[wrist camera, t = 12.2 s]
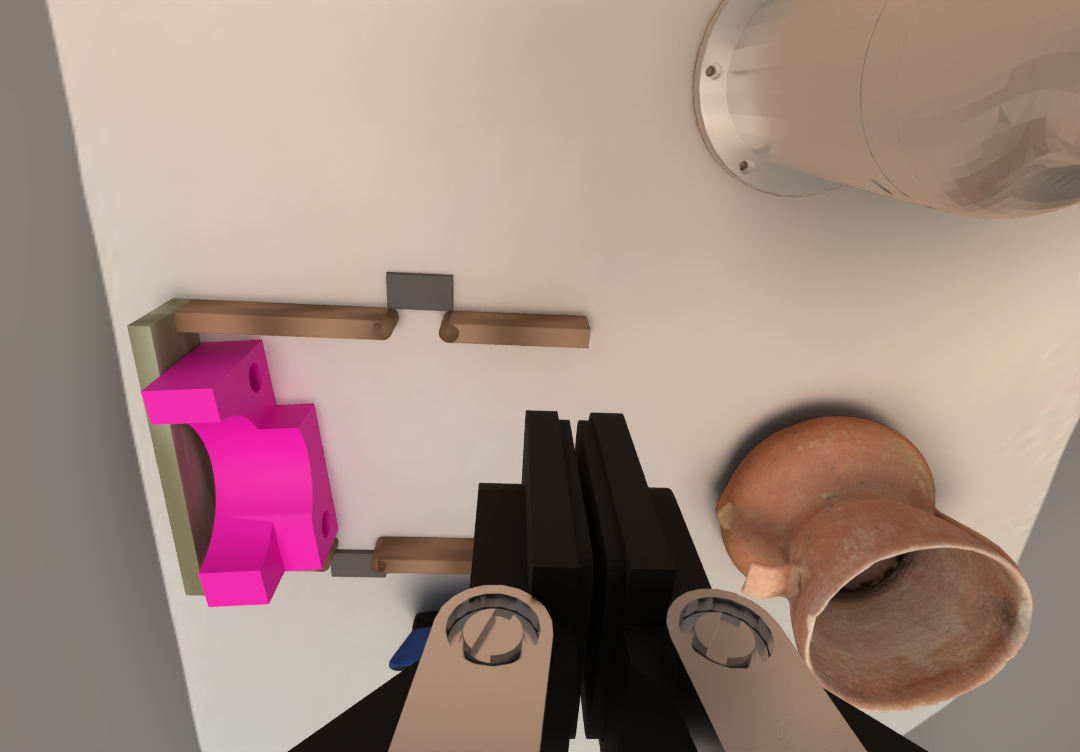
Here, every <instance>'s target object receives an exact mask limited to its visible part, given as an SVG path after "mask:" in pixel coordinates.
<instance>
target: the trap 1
mask: <svg viewBox="0 0 1080 752" xmlns="http://www.w3.org/2000/svg"><path fill="white" fill-rule="evenodd" d="M373 552H374V551H372V550H336V551H335V554H334V556H333V559H332V562H331V574H332V577H386V573H377V572H374V571H372V570H371V569H370V562H371V559H372V555H373Z"/></svg>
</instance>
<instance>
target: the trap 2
mask: <svg viewBox="0 0 1080 752" xmlns="http://www.w3.org/2000/svg"><path fill="white" fill-rule="evenodd" d="M386 284H387V308H388V309H411V310H434V311H452V310H453V275H435V274H414V273H392V272H387V273H386Z"/></svg>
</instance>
